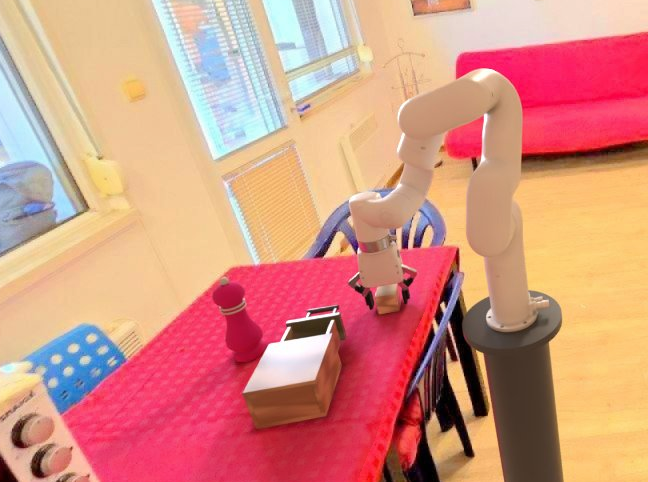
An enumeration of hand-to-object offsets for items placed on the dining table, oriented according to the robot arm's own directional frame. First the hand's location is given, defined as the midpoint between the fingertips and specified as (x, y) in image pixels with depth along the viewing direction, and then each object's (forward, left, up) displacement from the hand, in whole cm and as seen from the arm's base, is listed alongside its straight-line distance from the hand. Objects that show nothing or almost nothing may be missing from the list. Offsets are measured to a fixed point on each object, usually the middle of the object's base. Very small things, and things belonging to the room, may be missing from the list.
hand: (389, 303), depth 132 cm
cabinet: (+14, +28, -1) cm, 31 cm away
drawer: (+14, +14, 0) cm, 20 cm away
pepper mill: (+30, +10, -1) cm, 32 cm away
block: (0, 0, -1) cm, 1 cm away
